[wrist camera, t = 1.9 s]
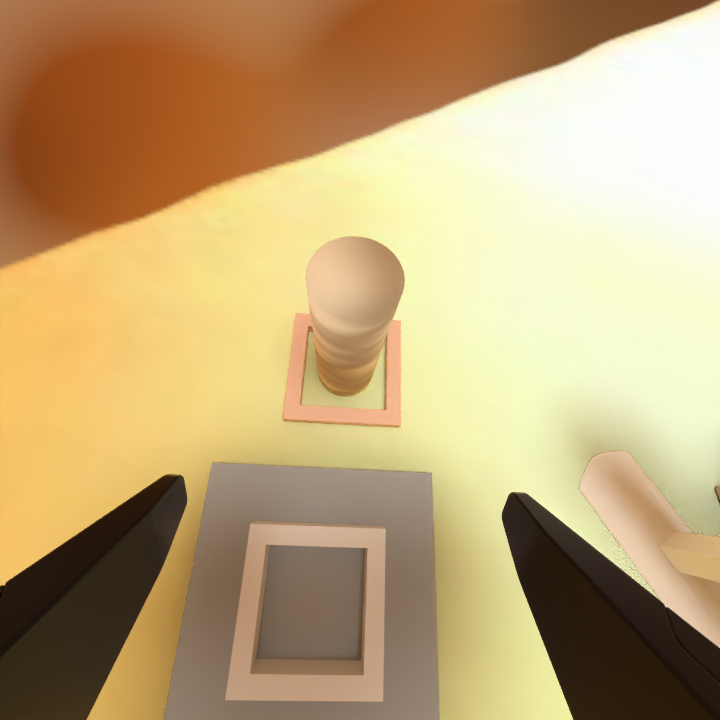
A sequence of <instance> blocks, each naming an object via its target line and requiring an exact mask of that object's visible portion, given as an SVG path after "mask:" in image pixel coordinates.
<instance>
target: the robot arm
mask: <svg viewBox="0 0 720 720" xmlns="http://www.w3.org/2000/svg"><path fill="white" fill-rule="evenodd" d="M186 504H187V493H186V487H185V481H184V477H183V476H182V475H174V474H167V475H164V476H163V477H161V478H160V479H158V480H157V481H155V482H154V483H152V484H151V485H149V486H148V487H146V488H145V489H143V490H142V491H140V492H139V493H137V494H136V495H134V496H133V497H131V498H130V499H129V500H127V501H126V502H124V503H123V504H121V505H120V506H118V507H117V508H115V509H114V510H112V511H111V512H109V513H108V514H106V515H105V516H103V517H102V518H100V519H99V520H97V521H96V522H94V523H93V524H92V525H90V526H89V527H87V528H86V529H84V530H83V531H81V532H80V533H78V534H77V535H75V536H74V537H72V538H71V539H69V540H68V541H66V542H65V543H63V544H62V545H60V546H59V547H57V548H56V549H55V550H53V551H52V552H50V553H49V554H47V555H46V556H44V557H43V558H41V559H40V560H38V561H37V562H35V563H34V564H32V565H31V566H29V567H28V568H26V569H25V570H23V571H22V572H20V573H19V574H18V575H16V576H15V577H13V578H12V579H10V580H9V581H7V582H6V584H5V586H4V585H1V586H0V720H86V719H87V717H88V715H89V713H90V711H91V709H92V707H93V705H94V703H95V701H96V699H97V697H98V695H99V693H100V691H101V689H102V687H103V685H104V683H105V681H106V679H107V677H108V675H109V673H110V671H111V669H112V667H113V665H114V663H115V661H116V659H117V657H118V655H119V653H120V651H121V649H122V647H123V645H124V643H125V641H126V639H127V637H128V635H129V633H130V631H131V629H132V627H133V625H134V623H135V621H136V619H137V617H138V615H139V613H140V611H141V609H142V607H143V605H144V603H145V601H146V599H147V597H148V595H149V593H150V591H151V589H152V587H153V585H154V583H155V581H156V579H157V577H158V575H159V573H160V571H161V569H162V567H163V564H164V562H165V559H166V557H167V555H168V552H169V549H170V547H171V544H172V541H173V539H174V536H175V534H176V531H177V528H178V526H179V523H180V520H181V518H182V515H183V513H184V510H185V507H186ZM502 521H503V525H504V529H505V532H506V536H507V539H508V543H509V546H510V550H511V553H512V557H513V560H514V564H515V568H516V571H517V574H518V577H519V580H520V583H521V586H522V588H523V591H524V594H525V596H526V599H527V601H528V604H529V606H530V609H531V612H532V614H533V617H534V619H535V622H536V624H537V627H538V630H539V632H540V635H541V637H542V640H543V643H544V645H545V648H546V650H547V653H548V655H549V658H550V661H551V663H552V666H553V668H554V671H555V673H556V676H557V679H558V681H559V684H560V686H561V689H562V691H563V694H564V697H565V699H566V702H567V704H568V707H569V710H570V712H571V715H572V717H573V720H720V648H719V647H718V646H717V645H715V644H714V643H713V642H712V641H710V640H709V639H708V638H707V637H705V636H704V635H703V634H701V633H700V632H699V631H698V630H696V629H695V628H694V627H692V626H691V625H690V624H689V623H687V622H686V621H685V620H684V619H682V618H681V617H680V616H679V615H677V614H676V613H675V612H674V611H672V610H671V609H670V608H669V607H665V605H664V603H662V602H661V601H660V600H659V599H657V598H656V597H655V596H654V595H652V594H651V593H650V592H649V591H647V590H646V589H645V588H644V587H642V586H641V585H640V584H639V583H637V582H636V581H635V580H634V579H632V578H631V577H630V576H629V575H627V574H626V573H625V572H624V571H623V570H621V569H620V568H619V567H618V566H616V565H615V564H614V563H613V562H611V561H610V560H609V559H608V558H606V557H605V556H604V555H603V554H601V553H600V552H599V551H598V550H596V549H595V548H594V547H593V546H591V545H590V544H589V543H588V542H586V541H585V540H584V539H583V538H581V537H580V536H579V535H578V534H576V533H575V532H574V531H573V530H571V529H570V528H569V527H568V526H566V525H565V524H564V523H563V522H562V521H560V520H559V519H558V518H557V517H555V516H554V515H553V514H552V513H550V512H549V511H548V510H547V509H545V508H544V507H543V506H542V505H540V504H539V503H538V502H537V501H535V500H534V499H533V498H532V497H530V496H529V495H528V494H526V493H521V492H511V493H510V494H509V496H508V498H507V501H506V504H505V506H504V509H503V512H502Z"/></svg>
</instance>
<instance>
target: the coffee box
mask: <svg viewBox="0 0 720 720" xmlns="http://www.w3.org/2000/svg"><path fill="white" fill-rule="evenodd" d="M716 492H717V495H718V497H719V500H720V486H717V487H716Z"/></svg>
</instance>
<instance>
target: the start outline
mask: <svg viewBox="0 0 720 720" xmlns="http://www.w3.org/2000/svg"><path fill="white" fill-rule="evenodd" d="M309 331H313V329H312V321H311V314H301V313H296V317H295V325H294V333H293V342H292V350H291V358H290V366H289V374H288V382H287V390H286V398H285V406H284V414H283V420H284V421H295V422H313V423H331V424H349V425H367V426H385V427H400V426H401V321H396V320H392V323H391V325H390V328H389V331H388V333H387V336H386V374H385V410H375V409H358V408H341V407H324V406H307V405H301V399H302V390H303V380H304V371H305V361H306V352H307V343H308V333H309Z"/></svg>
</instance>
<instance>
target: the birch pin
mask: <svg viewBox="0 0 720 720" xmlns="http://www.w3.org/2000/svg"><path fill="white" fill-rule="evenodd" d="M404 281H405V280H404V272H403V269H402V266H401V264H400V262H399V260H398V259H397V257H396V256H395V255H394V254H393V253H392V252H391V251H390V250H389V249H388V248H387V247H385V246H384V245H382V244H381V243H379V242H377V241H374V240H371V239H368V238H364V237H355V236H350V237H342V238H338V239H334V240H332V241H330V242H328V243H326V244H324V245H323V246H321V247H320V248H319V249H318V250H317V251H316V252H315V253H314V254H313V256H312V257H311V259H310V261H309V263H308V266H307V270H306V285H307V292H308V299H309V307H310V314H311V321H312V329H313V336H314V344H315V351H316V358H317V366H318V373H319V378H320V380H321V382H322V384H323V386H324V387H325V388H326V389H327V390H328V391H330V392H331V393H333V394H335V395H339V396H352V395H356V394H358V393H360V392H361V391H363V390H364V389H365V388H366V387H367V385H368V384H369V382H370V380H371V377H372V375H373V372H374V369H375V366H376V364H377V361H378V358H379V355H380V353H381V350H382V347H383V344H384V342H385V339H386V336H387V333H388V331H389V328H390V325H391V323H392V320H393V317H394V314H395V312H396V309H397V306H398V303H399V301H400V298H401V295H402V292H403V289H404Z"/></svg>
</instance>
